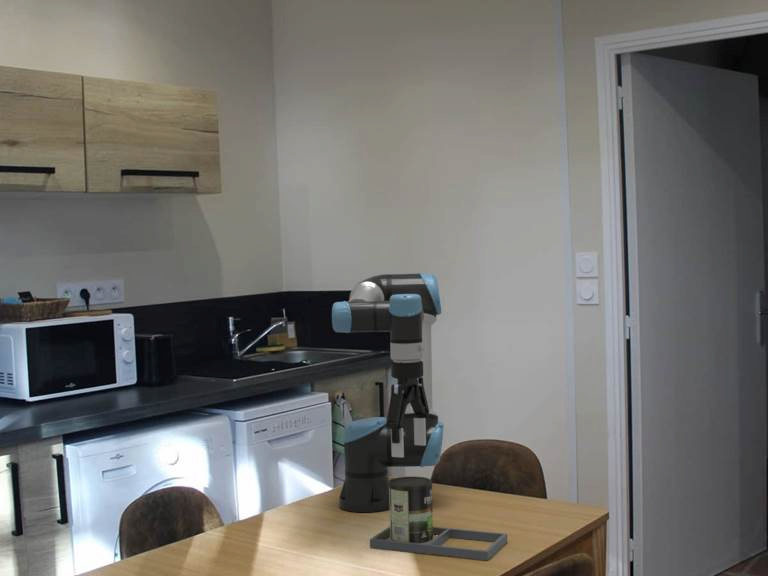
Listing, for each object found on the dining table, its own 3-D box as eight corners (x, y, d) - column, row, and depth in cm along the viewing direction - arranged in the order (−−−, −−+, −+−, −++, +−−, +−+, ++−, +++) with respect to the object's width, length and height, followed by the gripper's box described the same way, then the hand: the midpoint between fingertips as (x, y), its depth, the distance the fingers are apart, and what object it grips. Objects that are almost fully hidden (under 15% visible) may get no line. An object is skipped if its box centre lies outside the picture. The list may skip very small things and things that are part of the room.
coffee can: (436, 535, 234) (435, 476, 234) (429, 548, 224) (428, 486, 224) (394, 533, 236) (392, 475, 236) (385, 546, 226) (384, 485, 226)
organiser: (395, 530, 240) (395, 522, 240) (507, 542, 228) (507, 533, 228) (370, 547, 226) (369, 539, 226) (487, 560, 215) (487, 551, 215)
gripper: (400, 367, 216) (403, 463, 217) (441, 354, 238) (443, 441, 239) (369, 366, 219) (372, 461, 220) (412, 354, 242) (414, 439, 243)
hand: (409, 450), depth 230 cm, fingers open, 13 cm apart
